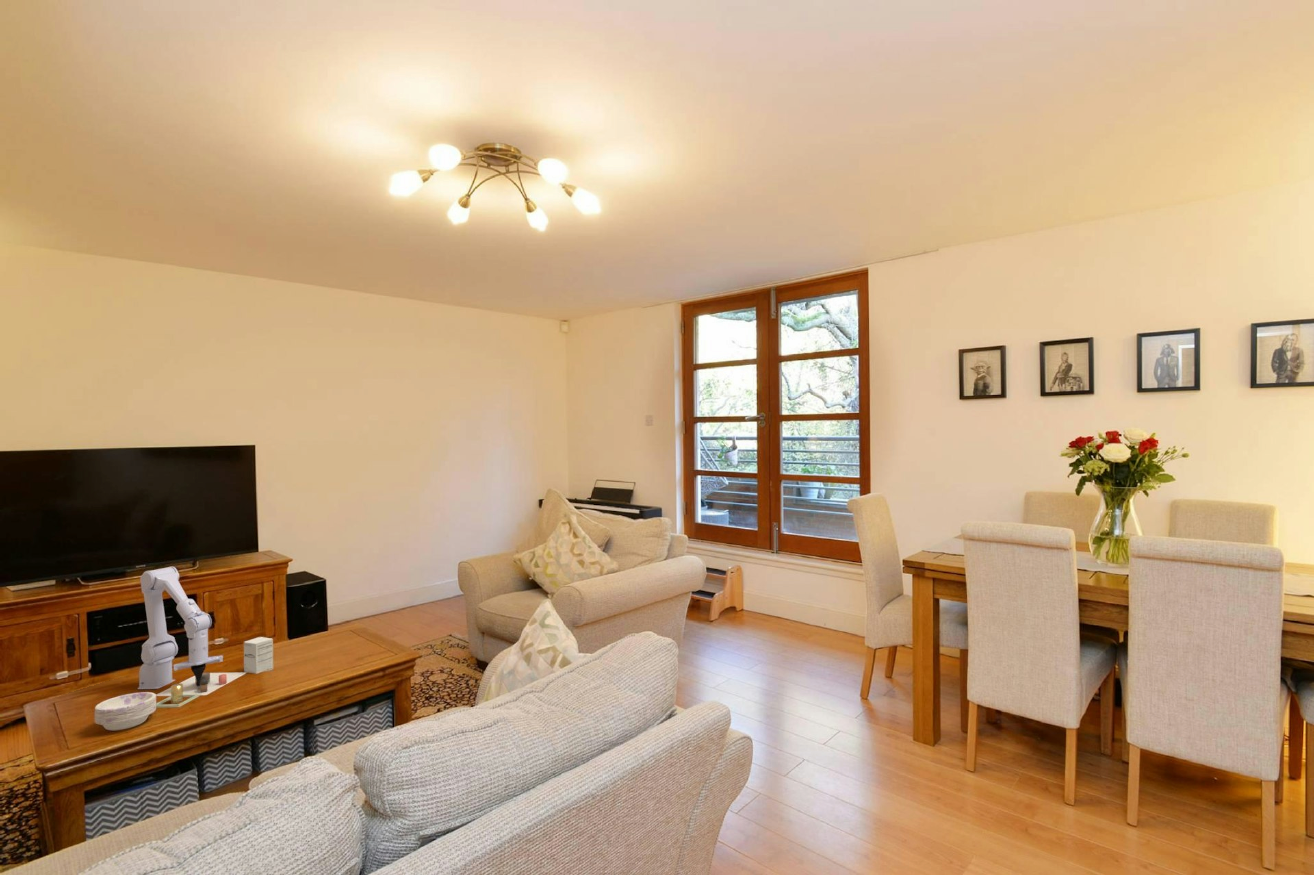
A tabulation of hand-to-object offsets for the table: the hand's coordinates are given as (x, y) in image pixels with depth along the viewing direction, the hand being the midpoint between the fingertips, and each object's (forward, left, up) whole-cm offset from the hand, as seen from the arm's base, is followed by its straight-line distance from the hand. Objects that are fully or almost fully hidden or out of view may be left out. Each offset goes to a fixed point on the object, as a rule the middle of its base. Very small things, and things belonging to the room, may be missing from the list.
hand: (198, 685), depth 228 cm
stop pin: (+1, -12, -1) cm, 12 cm away
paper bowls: (-3, -27, -2) cm, 28 cm away
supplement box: (+10, +19, -2) cm, 21 cm away
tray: (+1, -12, -2) cm, 12 cm away
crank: (+1, +1, -1) cm, 2 cm away
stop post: (+6, +4, -2) cm, 7 cm away
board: (-2, +5, -2) cm, 5 cm away
